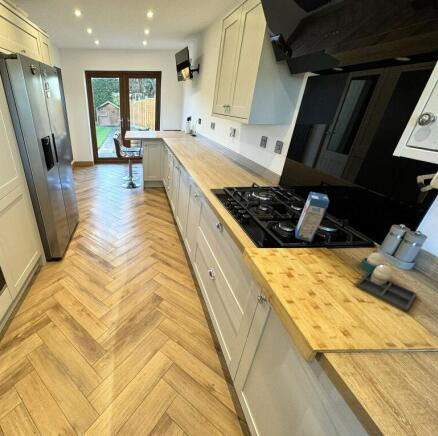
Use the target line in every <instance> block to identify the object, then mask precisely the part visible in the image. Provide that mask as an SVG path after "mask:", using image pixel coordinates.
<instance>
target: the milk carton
mask: <svg viewBox="0 0 438 436" xmlns="http://www.w3.org/2000/svg"><path fill="white" fill-rule="evenodd" d="M329 204H330V200H329V197H328V194H325V193H320V192H314V191H310V192H309V194H308V197H307V199H306V202H305V204H304V207H303V210H302V212H301V215H300V216H299V220H298V222H297V224H296V227H295V229H294V230H295V239H298V240H301V241H304V242H309V243H312V242H313V239H314V237H315V235H316V233H317V231H318V229H319V226H320V224H321V222H322V219H323V218H324V215H325V213H326V210H327V208H328V206H329Z"/></svg>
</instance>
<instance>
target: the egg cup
mask: <svg viewBox="0 0 438 436" xmlns="http://www.w3.org/2000/svg"><path fill="white" fill-rule="evenodd" d="M367 258H368V257H363V258H362V260H361V261H360V262H359V267H360V268H361V269H362V270H363V271H365V272H367V273H368V272H371V273H373V271H374V270H375V268H376V266H373V265H371V264H369V263H367V262H366V260H367ZM382 265H384V264H383V263H382Z"/></svg>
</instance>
